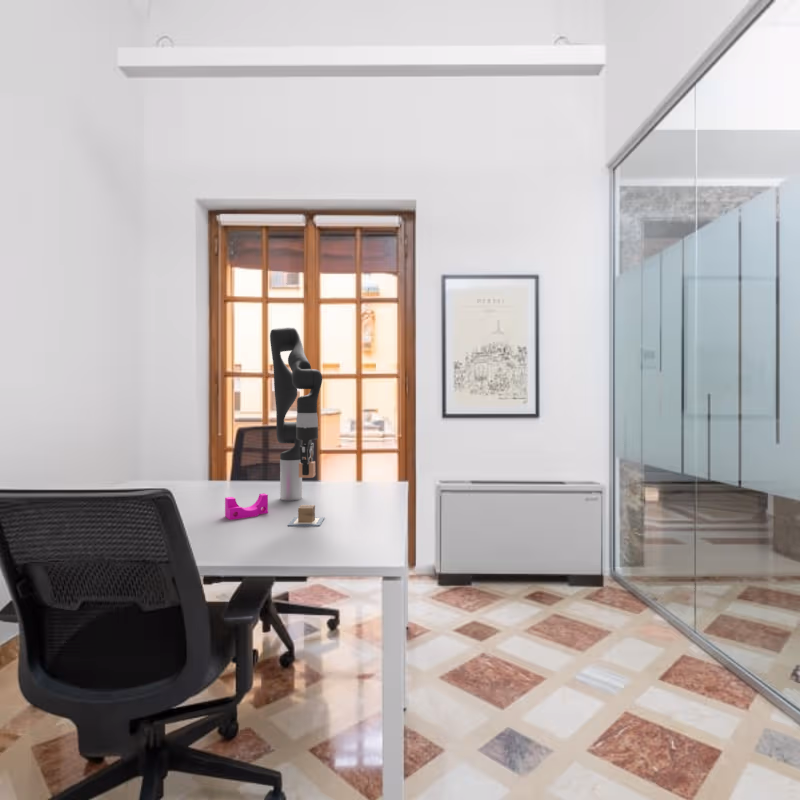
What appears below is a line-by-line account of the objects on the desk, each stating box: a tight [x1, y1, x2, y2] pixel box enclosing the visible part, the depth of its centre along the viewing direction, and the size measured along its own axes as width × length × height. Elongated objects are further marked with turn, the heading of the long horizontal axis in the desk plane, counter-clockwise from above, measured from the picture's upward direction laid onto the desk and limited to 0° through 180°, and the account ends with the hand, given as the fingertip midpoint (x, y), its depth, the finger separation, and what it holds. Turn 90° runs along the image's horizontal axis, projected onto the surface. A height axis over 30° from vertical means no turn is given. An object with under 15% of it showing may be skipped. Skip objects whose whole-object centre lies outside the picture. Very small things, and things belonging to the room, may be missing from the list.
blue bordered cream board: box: [287, 516, 326, 527], centre depth 188 cm, size 11×11×1 cm
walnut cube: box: [297, 504, 316, 523], centre depth 188 cm, size 5×5×5 cm
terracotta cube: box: [299, 461, 316, 479], centre depth 188 cm, size 5×5×5 cm
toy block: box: [224, 493, 269, 521], centre depth 198 cm, size 15×6×8 cm, turn 124°
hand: (307, 473), depth 188 cm, fingers closed on terracotta cube, 5 cm apart
